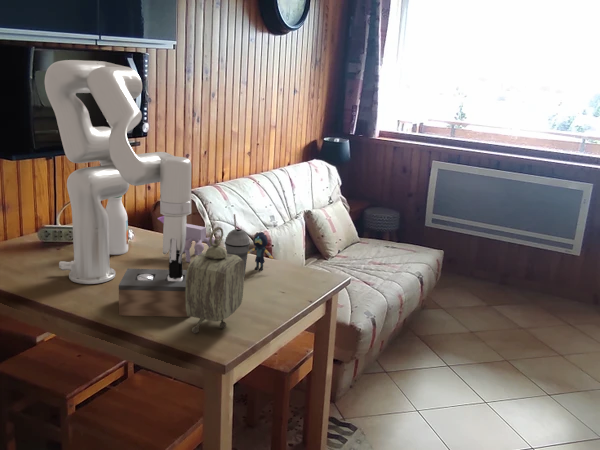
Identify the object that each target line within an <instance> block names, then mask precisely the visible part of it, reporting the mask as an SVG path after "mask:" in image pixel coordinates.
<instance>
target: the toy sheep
mask: <svg viewBox="0 0 600 450" xmlns="http://www.w3.org/2000/svg"><path fill="white" fill-rule="evenodd" d="M157 220H158V221H159V222H161V223H162V224H163V225H164V215H162V216H159V217H157ZM215 239H216V238H214V237H212V244H214V240H215ZM193 241H194V243H195V244H194V246H193V248H194V252H193V254H194V255H195V256H198V255H200V254H202V253H203V251H204V249H205V245H204V244H203V242H204V243H205V244H206V245H207V246H208V248H209V247H211V245H210V236H208V237H207V227H206V226H200V225H197V224H196V225H195V224H190V223H186V242H185V247H184V251H183V253H185V261H186V263H191V251H190V249H191V248H192V243H193Z"/></svg>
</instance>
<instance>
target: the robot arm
mask: <svg viewBox="0 0 600 450" xmlns="http://www.w3.org/2000/svg"><path fill="white" fill-rule="evenodd" d="M44 88H45V92H46V93H45V94H46V96H47V99H48V101H49V103H50V105H51V108H52V109H53V112H54V115H55V118H56V122H57V126H58V131H59V135H60V139H61V140H60V141H61V143H62V147H63V151H64V154H65V156H66V158H67V160H68V161H70V162H71V163H73V164H85V163H87V164H88V163H94V162H99V163H100V165H95V166H90V167H89V166H88V167H82V168H78V169H76V170H74V171H73V172H71V173H70V174H69V175H68V178H67V179H66V188H67V193H68V198H69V202H70V206H71V218H72V239H73V240H72V242H73V243H72V244H73V260H71V261H64V260H63V261H61V260H60V261H59V263H58V267H59V269H60V271H70V272H69V273H68V278H69V280H70V281H71V282H74V283H77V284H80V285H81V284H83V285H94V284H95V285H96V284H101V283H106V282H109V281H111V280H113V279H114V278H116V270H115V269H114V268H112V267H110V265H111V264H110V254H109V224H108V215H107V212H106V210H105V207H104V206H103V204H102V202H103V201H104V200H108V199H110V198H115V197H119V196H122V197H123V196H124V195H126V193H127V192H128V191H129V188H130V185H131V186H135V187H138V186H145V185H148V184H149V185H150V184H153V183H154V184H157V183H159V184H160V185H159V186H160V187H159V191H160V192H159V193H160V194H159V195H160V196H159V197H160V198H159V201H160V202H159V205H160V209H159V212H160V215H162V216H164V224H163V227H162V228H163V231H162V254H163V255H166V254H168V253H169V257H168V258H169V262H168V270H169V277H170V278H181V277H182V274H183V270H184V269H183V268H184V267H183V266H184V265H183V264H184V263H183V253H184V252H183V251H184V247H185V242H186V224H187V216H190V215H192V162H191V160H190V159H189V158H188V157H185V156H175V155H173V154H171V153H169V152H165V151H155V152H147V153H146V152H145V153H138V154H137V153H135V151H134V150H133V148H132V146H131V145H130V142H129V139H128V135H127V133H128V132H130V131H132V130H133V129H134V128H136V126H138V125H139V124H140V123H141V120H142V117H143V114H142V111H141V110H140V108H139V106H138V104H137V103H136V101H135V99H137V98H138V97H139V96H141V94H142V91H143V82H142V79H141V77H140V75H139V74H138V72H137V71H136V70H135V69H133V68H131V67H130V66H124V65H121V64H115V63H112V62H107V61H101V60H100V61H99V60H80V59H69V60H68V59H65V60H58V61H55V62H53V63H52V64H50V65H49V66H48V67H47V69H46V72H45V75H44ZM83 93H84V94H89V93H90V94H91V96H92V97H93V99H94V100H95V102H96V104H97V106H98V108H99V109H100V111H101V112H102V115H103V117H104V118H105V119H106V122H107V124H108V125H109V126H93V124H92V121H91V118H90V113H89V112H90V111H89V110H88V108H87V107H86V105H85V104H84V102H83V101H82V100H81V99H80V97H78V96H77V95H76V94H83Z"/></svg>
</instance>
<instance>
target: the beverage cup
mask: <svg viewBox="0 0 600 450" xmlns="http://www.w3.org/2000/svg"><path fill="white" fill-rule="evenodd" d="M233 224H234V229H232V230H231V231H229V232H228V233H227V234H226V237H225V241H224V245H225V247H224V248H225V250H226V253H227V254H232V255H237V256H239V257H240V258H241V259H242V260H243V261H244V277H245V276H246V268H247V261H248V260H247V258H248V255H249V254H248V251H249V250H250V249H249V248H250V244H251V241H250V237H249V234H248V233H247V232H246V231H244V230H243V229H239V228H237V219H236V214H235V213H234V214H233Z"/></svg>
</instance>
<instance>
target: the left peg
mask: <svg viewBox="0 0 600 450" xmlns="http://www.w3.org/2000/svg"><path fill="white" fill-rule="evenodd" d="M137 280H148V281H153V275H151V274H141V275H138V276H137Z"/></svg>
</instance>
